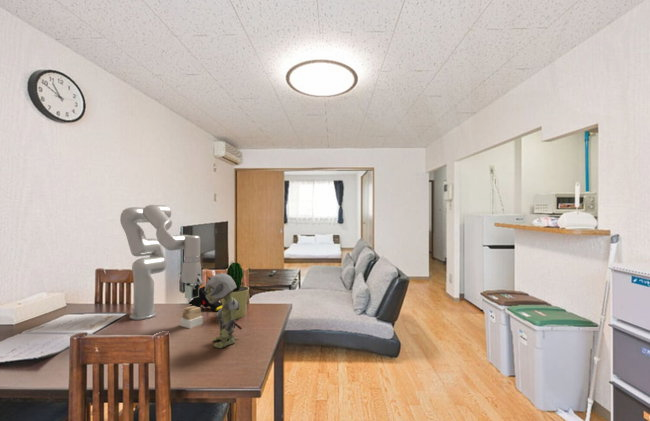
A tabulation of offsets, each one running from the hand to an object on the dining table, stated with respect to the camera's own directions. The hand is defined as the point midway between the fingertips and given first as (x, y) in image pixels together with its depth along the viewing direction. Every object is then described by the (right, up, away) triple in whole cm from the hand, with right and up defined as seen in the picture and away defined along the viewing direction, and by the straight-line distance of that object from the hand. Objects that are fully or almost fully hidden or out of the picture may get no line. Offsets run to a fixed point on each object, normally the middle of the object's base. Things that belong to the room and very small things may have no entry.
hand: (191, 295), depth 154 cm
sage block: (0, -1, 0) cm, 1 cm away
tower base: (0, -15, 0) cm, 15 cm away
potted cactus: (+17, -15, +14) cm, 27 cm away
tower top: (0, -11, 0) cm, 11 cm away
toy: (+23, -14, -22) cm, 35 cm away
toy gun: (-3, -15, +26) cm, 31 cm away
